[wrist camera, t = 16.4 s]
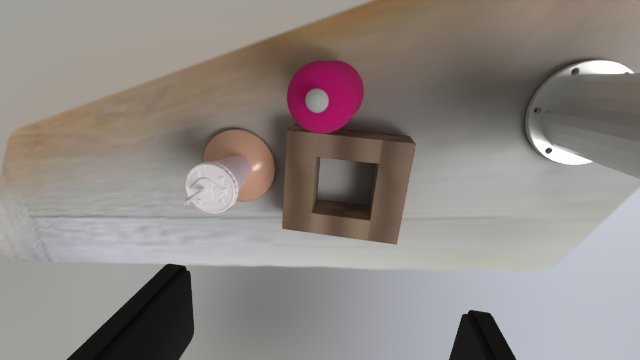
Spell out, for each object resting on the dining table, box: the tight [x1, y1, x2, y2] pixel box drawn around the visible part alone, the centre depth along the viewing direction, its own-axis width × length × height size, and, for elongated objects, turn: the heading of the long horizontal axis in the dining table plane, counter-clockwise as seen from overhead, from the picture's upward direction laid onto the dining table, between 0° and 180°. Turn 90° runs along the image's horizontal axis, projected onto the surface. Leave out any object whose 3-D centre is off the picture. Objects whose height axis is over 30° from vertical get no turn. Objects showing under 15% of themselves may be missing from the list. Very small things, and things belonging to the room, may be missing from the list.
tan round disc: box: [203, 129, 276, 201], centre depth 46 cm, size 11×11×1 cm
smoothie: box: [183, 155, 252, 213], centre depth 38 cm, size 6×6×14 cm
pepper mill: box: [287, 61, 364, 133], centre depth 31 cm, size 7×7×20 cm
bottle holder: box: [282, 125, 416, 244], centre depth 42 cm, size 16×14×5 cm
